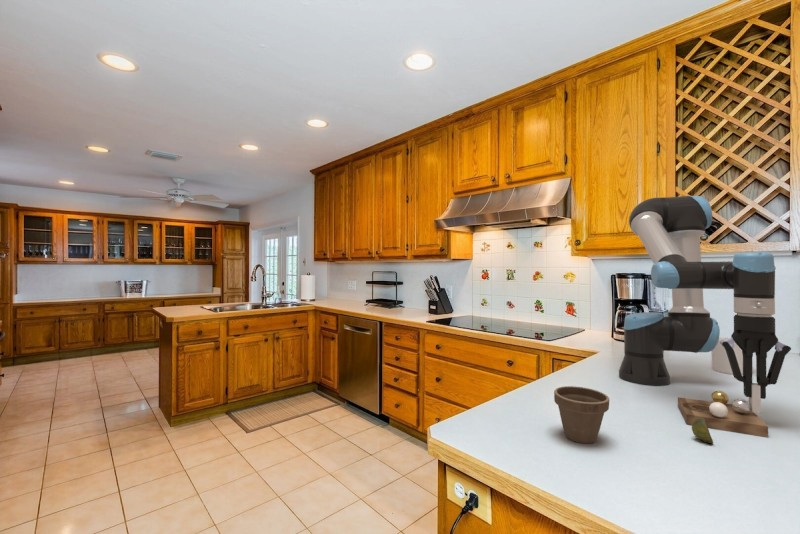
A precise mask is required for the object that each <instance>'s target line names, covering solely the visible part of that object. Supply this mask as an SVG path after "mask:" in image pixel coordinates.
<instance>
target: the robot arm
mask: <svg viewBox="0 0 800 534" xmlns="http://www.w3.org/2000/svg"><path fill="white" fill-rule="evenodd" d="M712 222H713V209H712V207H711V204H710V202H709V200H707V199H706V198H705V197H704V196H700V195H684V196H682V195H681V196H668V197H652V198H647V199H644V200H643V201H641V202H640V203H639V204H637V205H636V206H635V207H634V208H633V209H632V211H631V212H630V215H629V219H628V224H629V228H630V230H631V231H632V233H633V234H634V235H636V236H637V237H639V239H640V241H641V243H642V245H643V246H644V248H645V250H646V253H647V254H648V255H649V257H650V259H651V262H652V263H653V264H652V267H651V269H650V278H651V282H652V285H653V286H654V287H656V288H657V289H658V288H659V289H660V288H662V289H668V290H671V296H672V297H671V299H672V307H671V308H670V309H669V310H668V311H667V316H665V315H664V313H663V312H658V311H657V312H656V311H655V312H653V311H652V312H650V311H649V312H647V311H646V312H637V313H636V312H635V313H631V314H627V315H626V316H625V317H624V323H623V333H624V334H623V335H624V336H623V338H624V339H623V340H624V341H623V342H624V346H623V349H624V355H623V358H622V361H621V364H620V365H619V366H620V367H619V369H618V377H619V378H620V379H622V380H624V381H627V382H630V383H633V384H639V385H640V384H641V385H646V386H648V385H649V386H666V385H669V384H670V383H671V375H670V373H669V370H668V368H667V365H666V362H665V359H664V357H665V356H664V353H665V352H664V351H666V352H667V351H668V352H669V351H671V352H683V353H684V352H687V353H694V354H697V353H709V352H712V350H713V349H714V348H715V346H716V345H717V343H718V340H719V337H720V331H721V330H720V325H719V322H718V321H717V319H716V318H713V317H711V312H710V311H709V310H707V308H705V306H704V302H705V301H704V290H706V289H707V290H733V312H734V314H735V315H733V333H731V335H730V336H731V337H729V338H730V339H727V340H725V341H724V340H722V341H721V342H720V343H721V345H722V346H723V347H724V348H725V350H726V353H727V356H728V360H729V363H730V366H731V369H732V372H733V375H732V376H733V377H734V379H736V381H739V382H741V383H743V395H744V396H745V397H746V398H748V403H749V404H750V407H751V409H750V410H751V411H752V412H754V413H755V414H761V412H762V411H761V410H762V409H761V406H762V405H761V400H765V399H766V398H767V392H766V391H767V388H766V387H768V386H769V385H776V384H777V382H778V379H779V377H780V373H781V370H782V367H783V364H784V361H785V357H786V356H787V355H788V354H789V352H790V351H791V350H792V347H790V346H788V345H786V344H784V343H782V342H781V341H779V338H778V337H777V335H776V318H775V317H774V316H773V315H775V314H776V300H775V299H776V298H775V297H776V296H775V295H776V269H777V268H776V266H775V257H774V254H773V253H771V252H766V251H765V252H759V251H757V252H756V251H755V252H737V253H735V254H734V256H733V260H732V261H731V260H728V261H723V260H722V261H702V255H701V254H702V253H701V237H703V236H704V235H705V234H706V229H708V228H710V227H711V225H712ZM734 342H735V343H736V344H737V345H738V346H739V348H740V349H741V350H742V354H743V376H742V374H741V371H740V368H739V365H738V362H737V358H736V355H735V352H734V350H733V347H734ZM773 348H774V350H775V351H774V354H773V356H772V360H771V362H770V366H769V368H768V372H767V358H768V352H769V351H771V350H772V349H773ZM754 354H755V358H756V359H755V360H756V361H755V363H756V364H755V365H756V369H755V371H756V375H755V376H756V383H755V382H753V374H752V365H753V357H754Z"/></svg>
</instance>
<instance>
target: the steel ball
mask: <svg viewBox="0 0 800 534" xmlns="http://www.w3.org/2000/svg"><path fill="white" fill-rule="evenodd" d="M731 404H732V408H733V409H734V410H735V411H736V412H738V413H740V414H746V413H748V412H749V411H750V409H751V407H750V404H749V401H746V400H745V399H742V398H735V399H734V400H733V401H732V402H731Z"/></svg>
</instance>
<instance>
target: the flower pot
mask: <svg viewBox="0 0 800 534" xmlns="http://www.w3.org/2000/svg"><path fill="white" fill-rule="evenodd" d="M553 394H554V395H553V397H554V400H553V401H554V403H555V404H556V406H557V407H558V410H559V415H560V416H559V417H560V421H561V424H562V429H563V432H564V435H565V437H566V438H568V439H569V440H570V441H574V442H576V443H580V444H591V443H592V444H593V443H595V442H596V440H597V438H598V436H599V434H600V433H599V432H600V429H601V425H602V423H603V418H604V416H605V415H604V414H605V413H606V412H608V411H609V408H610V397H609V396H608V395H607V394H605V393H604V392H601V391H599V390H596V389H593V388H590V387H589V388H588V387H582V386H576V385H575V386H573V385H570V386H568V385H567V386H566V385H565V386H559V387H557V388H555V389H554V392H553Z"/></svg>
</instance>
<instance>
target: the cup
mask: <svg viewBox="0 0 800 534" xmlns="http://www.w3.org/2000/svg"><path fill="white" fill-rule="evenodd" d="M730 338H731V337H721V336H719V340H718V343H717V345H716V346H715V348H714V349H713V350H712V351H711V370H712V371H714V372H717V373H721V374H726V375H732V376H733V372H732V369H731V366H730V363H729V360H728V356H727V353H726V350H725V348H724V347H723V346H722V345H721V343H720V342H721V341H722V340H724V341H725V340H727V339H730ZM733 350H734V352H735V355H736V358H737V362H738V365H739V368H740V371H741V374H742V376H743V354H742V350H741V349H740V348H739V346H738V345H737V344H736V343H735V342H734V347H733ZM752 375H753V364H752Z"/></svg>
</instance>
